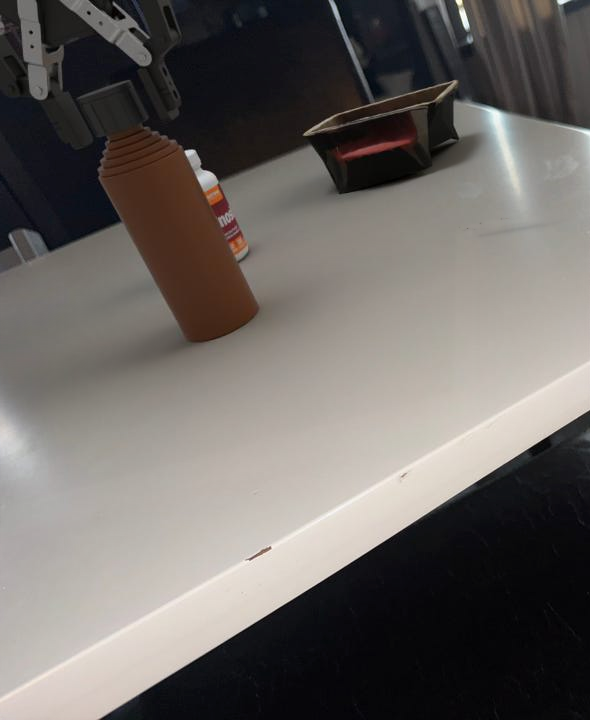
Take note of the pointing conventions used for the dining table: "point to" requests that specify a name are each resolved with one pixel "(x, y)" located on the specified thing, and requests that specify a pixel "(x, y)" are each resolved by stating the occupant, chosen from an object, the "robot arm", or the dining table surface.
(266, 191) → the dining table surface
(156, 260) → the sauce bottle
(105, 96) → the cap
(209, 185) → the pill bottle
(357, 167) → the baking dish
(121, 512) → the dining table surface
